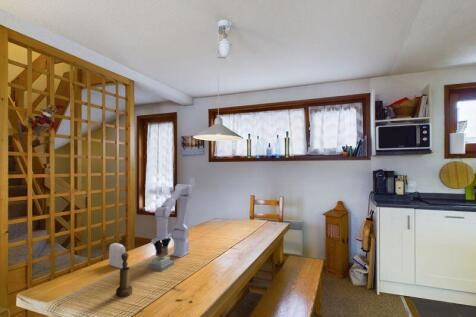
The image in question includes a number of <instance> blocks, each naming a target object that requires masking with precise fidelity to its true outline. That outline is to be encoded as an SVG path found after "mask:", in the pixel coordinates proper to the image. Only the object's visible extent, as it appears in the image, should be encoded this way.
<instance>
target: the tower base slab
mask: <svg viewBox="0 0 476 317" xmlns="http://www.w3.org/2000/svg"><path fill="white" fill-rule="evenodd" d="M174 265H175V261H174V260H171V259H170V262H168V263H166V264H165V265H163V266H159V265H155V264H152V261H151V262H150V263H148V264H147V268H148V269H152V270H156V271H159V272H160V271H161V272H163V271H166V270H167V269H168V268H169V269H170V267H173V266H174Z"/></svg>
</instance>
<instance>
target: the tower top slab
mask: <svg viewBox="0 0 476 317" xmlns="http://www.w3.org/2000/svg"><path fill="white" fill-rule="evenodd" d="M170 260H171V257H170V256H168V255H166V256H164V257H158V256H155V257H154V258H151V262H152V264H155V265H159V266H163V265H165V264H166V263H168V262H170Z"/></svg>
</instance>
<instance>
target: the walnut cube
mask: <svg viewBox="0 0 476 317" xmlns="http://www.w3.org/2000/svg"><path fill="white" fill-rule="evenodd" d="M168 248H169V246H168V247H166V246H162V247H161V254H160V255H159V254H157V252H156V251H155V257H157V256H158V257H164V256H168V255H169V254H168V253H169V249H168Z"/></svg>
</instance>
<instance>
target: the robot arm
mask: <svg viewBox="0 0 476 317" xmlns="http://www.w3.org/2000/svg"><path fill="white" fill-rule="evenodd" d="M193 189H194V188H193V186H192V185H191V184H180V183H178V184H176V185H175V186H174V191H173V193H172V194H171V196H170V197H167V198H166V199H165V201H164V202H163V203H162V204H161V205H160V206H158V207H156V208H155V212H154V215H155V220H156V236H155V237H154V238H152V239H151V244H153V246H154V248H155V253H156V252H157V254H159V255H160V254H161V247H162V246H166V247H168V248H169V244H170V242H171V241H173V253H171V254H170V256H173V257H177V258H182V257H184V256H186V255H188V254H189V253H190V251H189V244H190V243H189V240H188V239H189V235H190V233H189V232H190V231H189V230H190V229H189V227H188V226H187V224H186V223H187V217H188V211H189V206H190V201H191V198H192V196H193V192H194V190H193ZM179 198H180V199H181V202H180V207H179V208H180V209H179V212H178V216H177V218H178V219H177V222H176V224H175V225H174V226H173V228H172V231H171V232H168V226H169V225H168V223H169V222H168V219H169V218H168V217H170V215H171V212H172V209H173V208H174V206H175V204H176V201H177V200H178V199H179ZM171 239H172V240H171Z"/></svg>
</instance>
